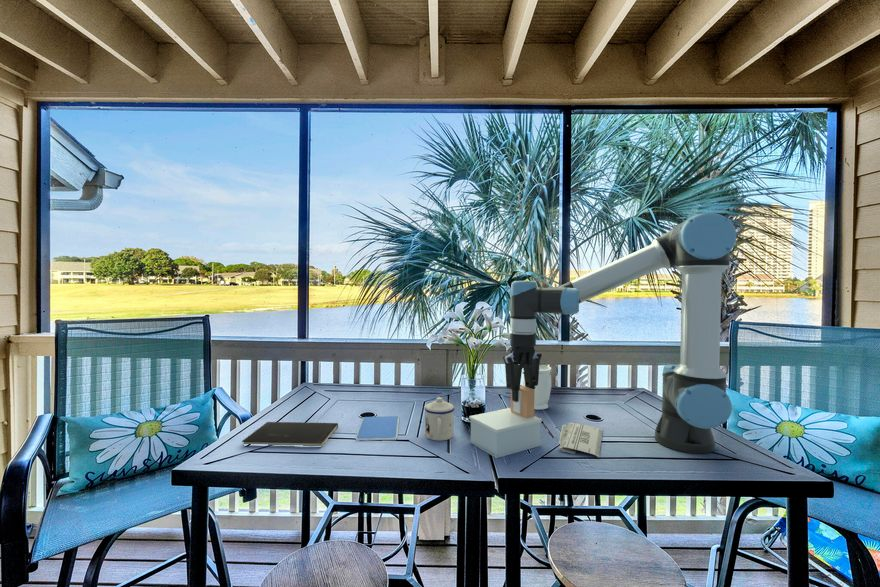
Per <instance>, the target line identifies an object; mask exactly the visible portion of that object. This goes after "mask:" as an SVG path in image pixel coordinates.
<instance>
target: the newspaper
mask: <svg viewBox="0 0 880 587" xmlns="http://www.w3.org/2000/svg"><path fill="white" fill-rule="evenodd" d="M603 432H604V430H603V429H601V428H600V427H595V426H592V425H587V424H582V423H578V422H576V423H575V422H568V424H567V425H566V424H562V426H561V431H560V434H559V441H558V445H559V444H560V446H559V448H558V450H559V452H564V453H570V454H576V451H578V452H579V451H580V452H584V453H587V454H590V455H593V456H596V457H597V458H598V459H599V458H600V456H601V449H602V448H601V447H602V441H601V440H603Z"/></svg>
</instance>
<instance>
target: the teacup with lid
mask: <svg viewBox="0 0 880 587" xmlns="http://www.w3.org/2000/svg"><path fill="white" fill-rule="evenodd" d="M424 411H425V412H424V413H425V414H424V416H425V417H424V418H425V419H424V420H425V421H424V422H425V424H424V425H425V426H424V428H425V429H424V430H425V431H424V432H425V433H424V434H425V438H427V439H429V440H432V441H437V442H439V441H440V442H441V441H447V440H451V439H452V438H453V437H454V411H455V407H454V405H453V404H452V403H451V402H450V403H449V402H447V401H445V400H444V399H443V397H440V396H439V397H436V399H435V400H433V401H432V402H430V403H426V404H425V406H424Z"/></svg>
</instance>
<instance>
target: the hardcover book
mask: <svg viewBox="0 0 880 587" xmlns="http://www.w3.org/2000/svg"><path fill="white" fill-rule="evenodd" d="M337 427H338V428H339V423H338V422H298V421H297V422H296V421H295V422H294V421H293V422H292V421H291V422H289V421H267V422H266V423H264V424H263V425H261V426H260V427H259V428H257V429H256V430H254V431H253V432H252V433H251V434H249V435H248V436H247V437H244V439H243V440H241V443H243V445H244V444H268V445H303V446H322V445H323V444H324V443H325V441H326V440H327V439H328V438H329V436H330V435H331V434H332V433H333V431H334V430H335V429H336V428H337ZM338 428H337V429H338ZM337 429H336V430H337ZM336 430H335V431H336ZM335 431H334V432H335ZM333 434H334V433H333ZM333 434H332V435H333ZM332 435H331V436H332ZM331 436H330V437H331ZM329 439H330V438H329ZM329 439H328V440H329ZM328 440H327V441H328ZM327 441H326V442H327ZM325 444H326V443H325ZM325 444H324V445H325ZM324 445H323V446H324ZM323 446H322V447H323Z"/></svg>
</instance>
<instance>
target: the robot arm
mask: <svg viewBox="0 0 880 587" xmlns="http://www.w3.org/2000/svg"><path fill="white" fill-rule="evenodd" d="M736 242H737V230H736V228H735V226H734V224H733V222H732V221H731V220H730V219H728V217H726V216H725V215H722V214H720V213H716V212H703V213H697V214H694V215H692V216H689V217H688V218H687V219H685V220H684V221H682V222H680V223H679V224H678V225H676V226H674V227H673V228H672V229H671V230H669V231H668V232H665V233H664V234H662V235H660V236H658V237H657V238H654V239H652V242H651V244H648V245H647V246H645V247H643V248H641V249H638V250H636V251H634V252H631V253H630V254H627V255H624V256H623V257H621V258H619V259H616V260H614V261H611V262H609V263H607V264H604V265H603V266H601V267H598V268H597V269H594V270H591V271H589V272H588V273H585V274H583V275H581V276H579V277H576V278H574V279H572V280H570V281H568V282H566V283H564V284H560V285H558V286H556V287H539V286H538V285H537V281H535V280H514V281H511V285H510V295H509V298H510V309H509V311H510V314H509V315H510V318H509V319H510V321H509V323H510V325H509V329H510V332H511V333H510V334H509V345H510V347H511V349H510V352H509V354H508V355H504V356H502V359H503V361H504V366H505V368H504V369H505V371H504V372H505V384H506V385H505V386H506V388H507V389H509V390H510V391H511V390H512V400H513V401H514V408H513V411H515V412H517V413H521V412H522V391H520V385H521V380H522V373H523V377H524V379H525V386H526V387H529V388H532V389H535V387H534V386H537V385H538V378H539V365H541V364H540V363H541V359H542V355H543V354H542V353H541V352H537V351H536V349H535V346H536V344H537V335H536V332H537V314H553V315H554V314H556V315H558V314H559V315H576V314H578V313H579V311H580V304H582V303H584V302H586V301H588V300H590V299H592V298H595V297H599V295H603V294H605V293H607V292H609V291H611V290H614V289H616V288H618V287H621V286H623V285H626V284H628V283H630V282H633V281H635V280H637V279H639V278H642V277H644V276H646V275H647V276H648V275H649V274H651V273H652V274H653V273H654V272H656V271H658V270H660V269H663V268H664V269H668V270H669V269H672V268H674V267H675V268H676V270H678V271H679V272H680V273H681V306H680V307H681V310H680V347H679V348H680V349H679V350H680V351H679V352H680V353H679V354H680V356H679V360H680V361H679V364H671V363H669V364H666V365H664V366H663V367H662V368H663V369H662V374H661V375H662V400H661V415H660V417H659V420H658V422H657V425H656V427H655V430H654V440H655V441H656V442H657V443H659V444H660V445H662V446H664V447H666V448H669V449H672V450H675V451H678V452H684V453H690V454H709V453H710V454H711V453H713V452H714V451H715V450H716V440H715V436H714V433H713V430H712V429H716V428H718V427H721V426H722V425H723V424H725V423H726V422H727V421H728V420H729V419H730V417H731V415H732V412H733V406H732V401H731V399H730V396H729V394H727V374H726V373H725V371H723V369H721V368H720V355H721V353H720V351H721V313H722V312H721V311H722V278H723V277H722V275H723V273H724V272H725V271H726V270H727V269H729V268H730V253H731V252H732V249H733V248H734V246H735V244H736ZM522 371H523V372H522Z"/></svg>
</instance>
